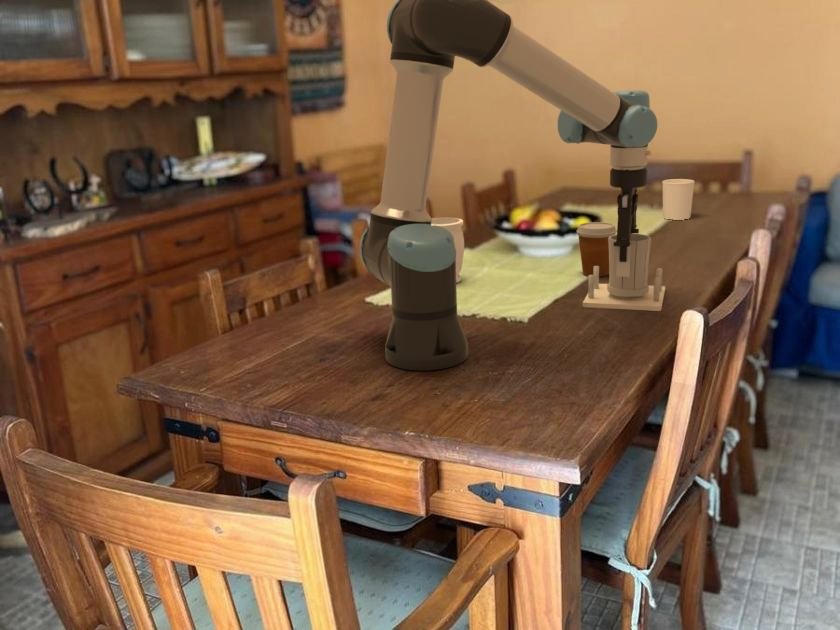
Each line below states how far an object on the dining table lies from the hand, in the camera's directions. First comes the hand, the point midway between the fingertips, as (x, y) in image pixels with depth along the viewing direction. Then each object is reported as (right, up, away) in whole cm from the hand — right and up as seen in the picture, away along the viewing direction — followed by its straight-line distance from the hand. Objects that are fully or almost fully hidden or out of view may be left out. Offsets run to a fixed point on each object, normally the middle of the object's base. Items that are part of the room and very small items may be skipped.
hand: (625, 269), depth 175 cm
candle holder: (+38, +21, +86) cm, 96 cm away
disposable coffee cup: (-1, 0, +24) cm, 24 cm away
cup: (0, -5, +1) cm, 5 cm away
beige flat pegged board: (0, -6, +2) cm, 7 cm away
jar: (-39, -2, +24) cm, 45 cm away
